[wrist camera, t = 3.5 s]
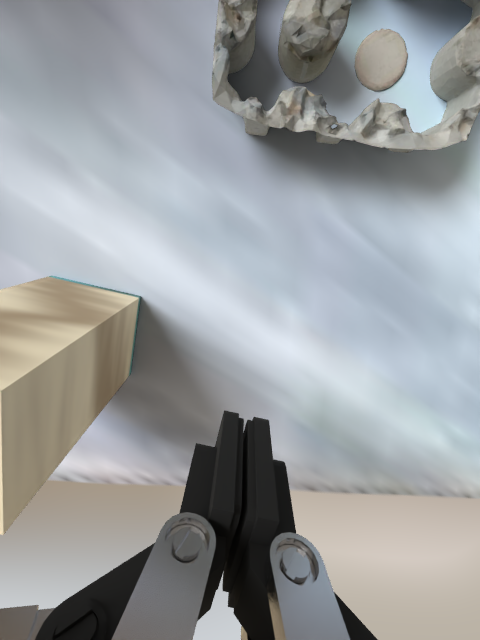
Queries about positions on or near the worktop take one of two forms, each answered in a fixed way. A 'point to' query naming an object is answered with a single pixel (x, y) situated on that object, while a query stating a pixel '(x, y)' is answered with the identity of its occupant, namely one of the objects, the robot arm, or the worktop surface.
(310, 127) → the egg carton
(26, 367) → the maple block
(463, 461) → the worktop surface
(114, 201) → the worktop surface
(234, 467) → the robot arm
